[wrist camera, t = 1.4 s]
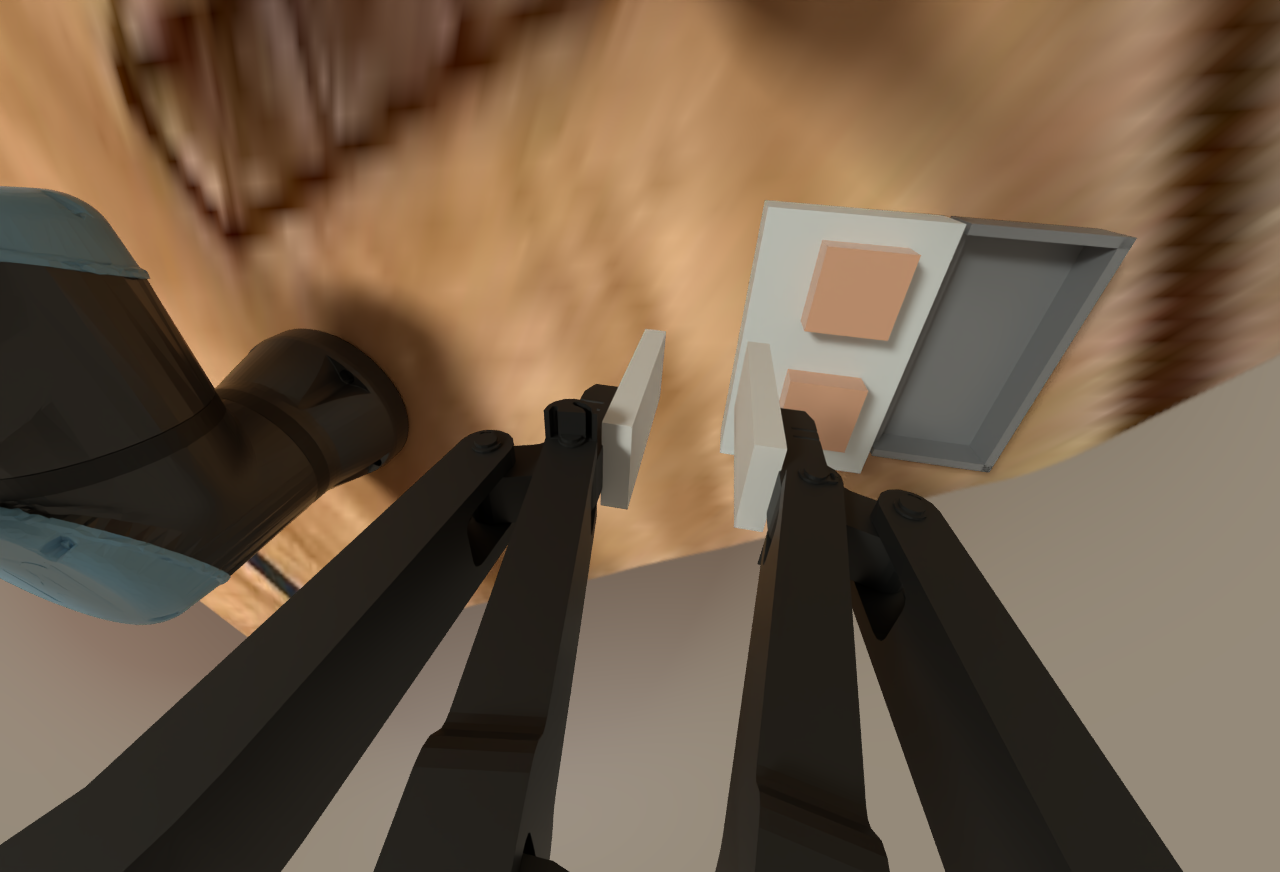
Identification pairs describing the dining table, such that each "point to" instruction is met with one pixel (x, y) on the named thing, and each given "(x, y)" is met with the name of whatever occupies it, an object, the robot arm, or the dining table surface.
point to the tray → (995, 338)
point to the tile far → (826, 403)
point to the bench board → (777, 321)
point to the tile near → (858, 289)
